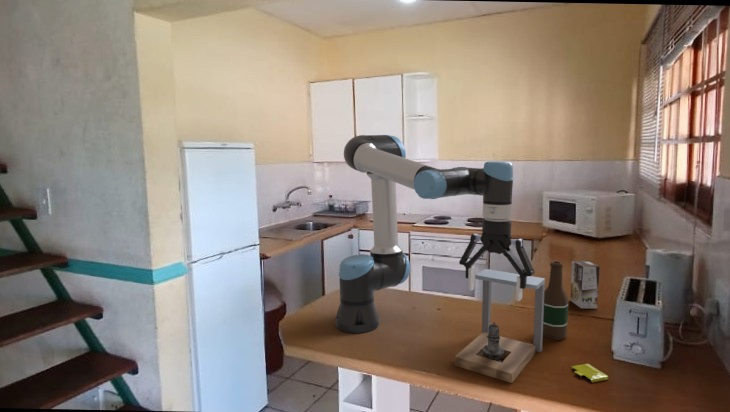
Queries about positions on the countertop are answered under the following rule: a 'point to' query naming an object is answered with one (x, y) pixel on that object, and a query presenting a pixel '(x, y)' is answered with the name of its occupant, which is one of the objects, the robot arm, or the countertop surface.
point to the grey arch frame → (511, 279)
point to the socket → (507, 370)
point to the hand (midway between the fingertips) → (494, 294)
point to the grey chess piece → (493, 344)
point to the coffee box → (584, 284)
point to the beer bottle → (555, 305)
